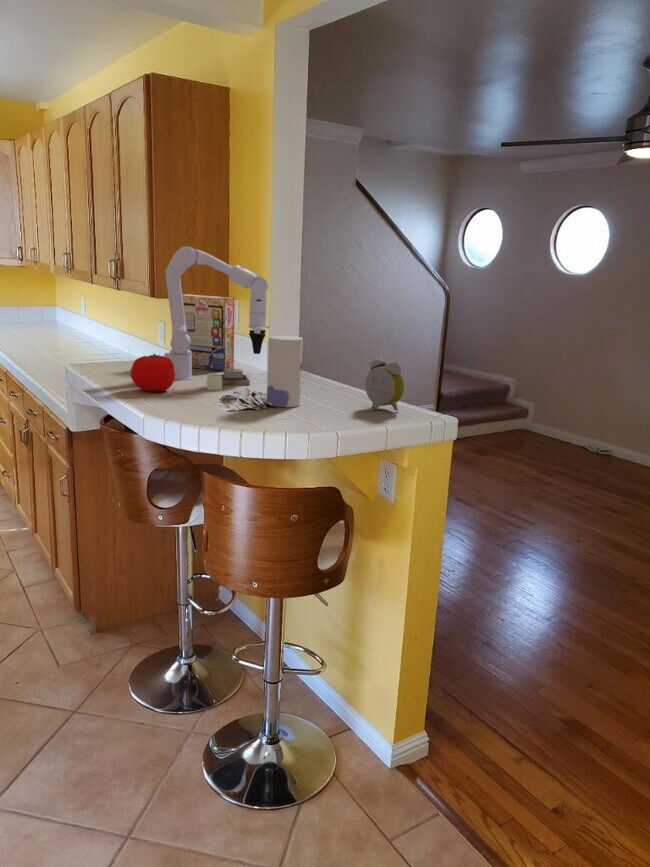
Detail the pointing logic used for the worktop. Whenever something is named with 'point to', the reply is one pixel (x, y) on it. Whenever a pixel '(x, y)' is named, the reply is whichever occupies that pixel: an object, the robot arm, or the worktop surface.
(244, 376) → the brown wooden tray
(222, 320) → the cereal box
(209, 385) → the beige cube
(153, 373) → the tomato
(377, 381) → the alarm clock
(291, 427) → the worktop surface
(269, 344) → the container
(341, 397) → the worktop surface
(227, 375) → the grey block
